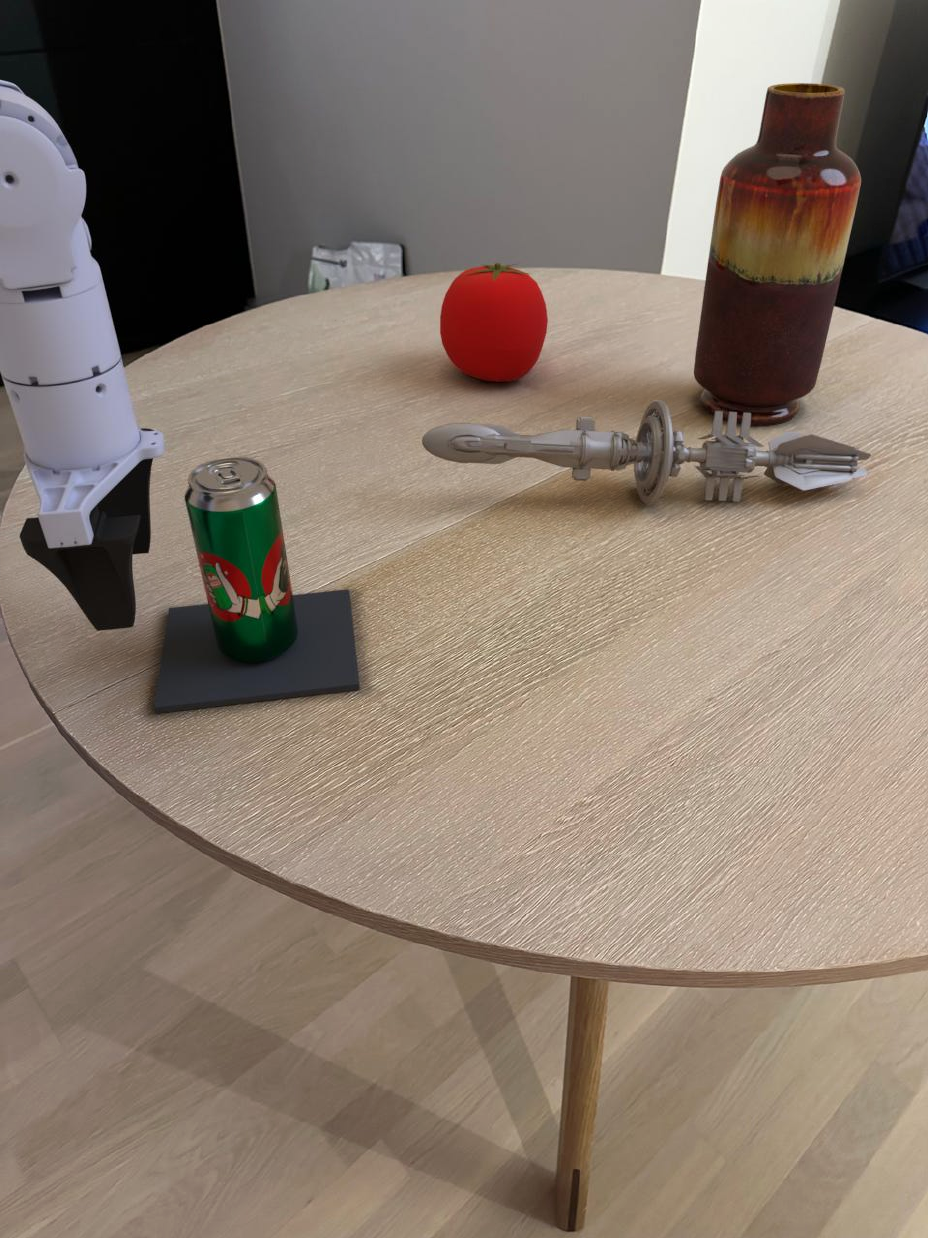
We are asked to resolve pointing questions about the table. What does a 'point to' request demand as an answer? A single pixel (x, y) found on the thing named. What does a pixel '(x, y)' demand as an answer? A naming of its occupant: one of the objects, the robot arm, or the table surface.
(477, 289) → the tomato
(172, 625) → the mat
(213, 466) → the soda can
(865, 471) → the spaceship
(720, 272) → the vase
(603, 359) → the table surface
